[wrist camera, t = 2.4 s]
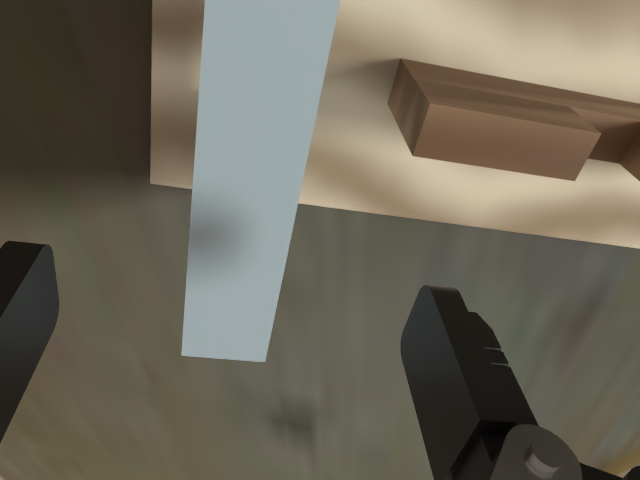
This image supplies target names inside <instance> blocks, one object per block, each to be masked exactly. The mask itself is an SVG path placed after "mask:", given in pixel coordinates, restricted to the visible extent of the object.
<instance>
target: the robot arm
mask: <svg viewBox="0 0 640 480" xmlns="http://www.w3.org/2000/svg"><path fill="white" fill-rule="evenodd" d="M58 311H59V296H58V289H57V281H56V273H55V265H54V257H53V251H52V248H51V247H50V245H45V244H35V243H26V242H16V241H7V242H6V243H4V245H3V246H2V247H1V249H0V443H1V440H2V438H3V436H4V434H5V432H6V430H7V428H8V426H9V424H10V421H11V419H12V417H13V415H14V413H15V411H16V409H17V407H18V405H19V402H20V400H21V398H22V396H23V394H24V392H25V390H26V388H27V385H28V383H29V381H30V379H31V377H32V375H33V373H34V371H35V369H36V366H37V364H38V362H39V360H40V358H41V356H42V354H43V352H44V350H45V347H46V345H47V343H48V341H49V339H50V337H51V335H52V333H53V330H54V328H55V325H56V322H57V317H58ZM401 357H402V361H403V365H404V369H405V372H406V376H407V380H408V384H409V387H410V391H411V395H412V399H413V402H414V406H415V410H416V414H417V417H418V421H419V425H420V429H421V432H422V436H423V440H424V444H425V447H426V451H427V455H428V459H429V462H430V466H431V470H432V474H433V477H434V480H640V466H636V467H634V468H632V469H631V471H630V472H628V473H627V475H626V476H625V477H624V478H621V477H618V476H615V475H613V474H610V473H607V472H604V471H601V470H599V469H596V468H593V467H590V466H587V465H584V464H582V463H580V462H579V461H578V459H577V457H576V456H575V454H574V453H573V451H572V450H571V449H570V448H569V446H568V445H567V444H566V443H565V442H564V441H563V440H561V439H560V438H559V437H558V436H556V435H555V434H553V433H552V432H550V431H548V430H546V429H544V428H542V427H539V425H538V424H537V421H536V419H535V417H534V415H533V413H532V411H531V409H530V407H529V405H528V403H527V401H526V399H525V397H524V394H523V392H522V390H521V388H520V386H519V384H518V382H517V380H516V378H515V376H514V374H513V372H512V369H511V368H510V367H508V364H509V363H508V361H507V359H506V357H505V355H504V353H503V352H501V347H500V344H499V342H498V340H497V338H496V336H495V334H494V332H493V330H492V329H491V328H490V327H489V326H488V324H487V323H486V322H485V321H484V320H483V319H482V318H481V317H480V316H479V315H478V314H477V313H476V312H468V310H467V308H466V306H465V303H464V301H463V299H462V297H461V294H460V292H459V291H458V290H457V289H455V288H446V287H437V286H427V285H425V286H423V287H422V288H421V289H420V291H419V293H418V296H417V298H416V301H415V303H414V305H413V308H412V310H411V313H410V315H409V318H408V320H407V323H406V325H405V327H404V330H403V333H402V337H401Z"/></svg>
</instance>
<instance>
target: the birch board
mask: <svg viewBox="0 0 640 480" xmlns="http://www.w3.org/2000/svg"><path fill="white" fill-rule="evenodd" d="M204 7H205V0H152V71H151V164H150V184H158V185H165V186H173V187H180V188H188V189H193V174H194V159H195V143H196V128H197V113H198V98H199V83H200V68H201V53H202V37H203V22H204ZM401 58H402V59H408V60H413V61H418V62H423V63H429V64H434V65H439V66H444V67H450V68H455V69H460V70H465V71H471V72H476V73H481V74H486V75H492V76H497V77H502V78H507V79H513V80H518V81H523V82H528V83H534V84H539V85H544V86H550V87H555V88H560V89H565V90H571V91H576V92H581V93H586V94H592V95H597V96H602V97H607V98H613V99H618V100H623V101H628V102H634V103H639V104H640V0H340V4H339V9H338V14H337V19H336V23H335V28H334V33H333V38H332V43H331V47H330V52H329V57H328V62H327V67H326V72H325V76H324V81H323V86H322V91H321V96H320V100H319V105H318V110H317V115H316V120H315V124H314V129H313V134H312V139H311V144H310V148H309V153H308V158H307V163H306V168H305V172H304V177H303V182H302V187H301V192H300V197H299V201H298V203H301V204H308V205H316V206H323V207H331V208H339V209H346V210H354V211H361V212H369V213H376V214H384V215H391V216H399V217H406V218H414V219H422V220H429V221H437V222H444V223H452V224H459V225H467V226H474V227H482V228H489V229H497V230H504V231H512V232H520V233H527V234H535V235H542V236H550V237H557V238H565V239H572V240H580V241H587V242H595V243H602V244H610V245H618V246H625V247H633V248H640V181H639V180H637V179H636V178H635V177H634V176H633V175H632V174H630V173H629V172H628V171H627V170H626V169H625V168H624V167H622V166H621V165H620V164H618V163H612V162H606V161H600V160H594V159H587V161H586V162H585V164H584V166H583V168H582V169H581V171H580V173H579V175H578V177H577V178H576V180H575V181H570V180H563V179H557V178H550V177H544V176H537V175H531V174H525V173H518V172H512V171H505V170H499V169H492V168H486V167H479V166H473V165H467V164H460V163H454V162H447V161H441V160H434V159H428V158H422V157H415V156H412V154H411V152H410V150H409V148H408V146H407V144H406V142H405V140H404V137H403V135H402V133H401V131H400V129H399V127H398V125H397V123H396V121H395V119H394V116H393V114H392V112H391V110H390V108H389V106H388V100H389V97H390V93H391V90H392V86H393V83H394V79H395V76H396V72H397V69H398V65H399V62H400V59H401Z"/></svg>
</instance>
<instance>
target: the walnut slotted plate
mask: <svg viewBox="0 0 640 480" xmlns="http://www.w3.org/2000/svg"><path fill="white" fill-rule="evenodd" d="M388 106H389V108H390V110H391V112H392V114H393V116H394V119H395V121H396V123H397V125H398V127H399V129H400V131H401V133H402V135H403V137H404V140H405V142H406V144H407V146H408V148H409V150H410V152H411V154H412V156H415V157H422V158H428V159H434V160H441V161H447V162H454V163H460V164H467V165H473V166H479V167H486V168H492V169H499V170H505V171H512V172H518V173H525V174H531V175H537V176H544V177H550V178H557V179H563V180H570V181H575V180H576V178H577V177H578V175H579V173H580V171H581V169H582V168H583V166H584V164H585V162H586V161H587V159H594V160H600V161H606V162H612V163H618V164H620V165H621V166H622V167H624V168H625V169H626V170H627V171H628V172H629V173H630V174H632V175H633V176H634V177H635V178H636V179H637V180H639V181H640V104H639V103H634V102H628V101H623V100H618V99H613V98H607V97H602V96H597V95H592V94H586V93H581V92H576V91H571V90H565V89H560V88H555V87H550V86H544V85H539V84H534V83H528V82H523V81H518V80H513V79H507V78H502V77H497V76H492V75H486V74H481V73H476V72H471V71H465V70H460V69H455V68H450V67H444V66H439V65H434V64H429V63H423V62H418V61H413V60H408V59H402V58H401V59H400V62H399V65H398V69H397V72H396V76H395V79H394V83H393V86H392V90H391V93H390V97H389V100H388Z"/></svg>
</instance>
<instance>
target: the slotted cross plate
mask: <svg viewBox="0 0 640 480" xmlns="http://www.w3.org/2000/svg"><path fill="white" fill-rule="evenodd" d="M339 4H340V0H205V7H204V22H203V37H202V53H201V68H200V83H199V98H198V113H197V128H196V143H195V159H194V174H193V189H192V204H191V219H190V234H189V249H188V264H187V280H186V295H185V310H184V325H183V340H182V355H181V356H192V357H205V358H218V359H231V360H245V361H258V362H265V360H266V355H267V350H268V346H269V341H270V336H271V331H272V326H273V322H274V317H275V312H276V307H277V302H278V297H279V293H280V288H281V283H282V278H283V273H284V269H285V264H286V259H287V254H288V249H289V245H290V240H291V235H292V230H293V225H294V221H295V216H296V211H297V206H298V201H299V197H300V192H301V187H302V182H303V177H304V172H305V168H306V163H307V158H308V153H309V148H310V144H311V139H312V134H313V129H314V124H315V120H316V115H317V110H318V105H319V100H320V96H321V91H322V86H323V81H324V76H325V72H326V67H327V62H328V57H329V52H330V47H331V43H332V38H333V33H334V28H335V23H336V19H337V14H338V9H339Z"/></svg>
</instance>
